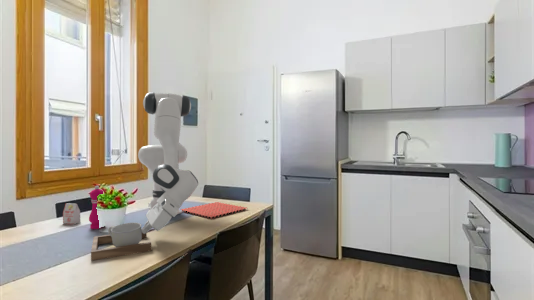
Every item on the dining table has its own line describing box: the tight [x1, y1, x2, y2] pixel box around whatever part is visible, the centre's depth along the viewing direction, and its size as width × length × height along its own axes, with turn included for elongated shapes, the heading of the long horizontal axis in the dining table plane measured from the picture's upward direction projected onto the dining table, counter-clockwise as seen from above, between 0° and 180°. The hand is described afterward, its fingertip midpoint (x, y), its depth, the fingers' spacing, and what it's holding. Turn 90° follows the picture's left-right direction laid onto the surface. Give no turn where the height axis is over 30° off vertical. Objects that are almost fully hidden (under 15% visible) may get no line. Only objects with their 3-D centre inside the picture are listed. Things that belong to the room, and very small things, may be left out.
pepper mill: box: [88, 185, 104, 230], centre depth 144 cm, size 7×7×20 cm
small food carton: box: [62, 202, 81, 225], centre depth 152 cm, size 4×7×10 cm, turn 77°
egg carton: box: [180, 201, 249, 220], centre depth 177 cm, size 28×28×2 cm
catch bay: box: [90, 233, 153, 262], centre depth 116 cm, size 19×20×3 cm
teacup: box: [107, 222, 143, 247], centre depth 117 cm, size 14×11×8 cm
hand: (142, 232), depth 120 cm, fingers closed, pressing on teacup
